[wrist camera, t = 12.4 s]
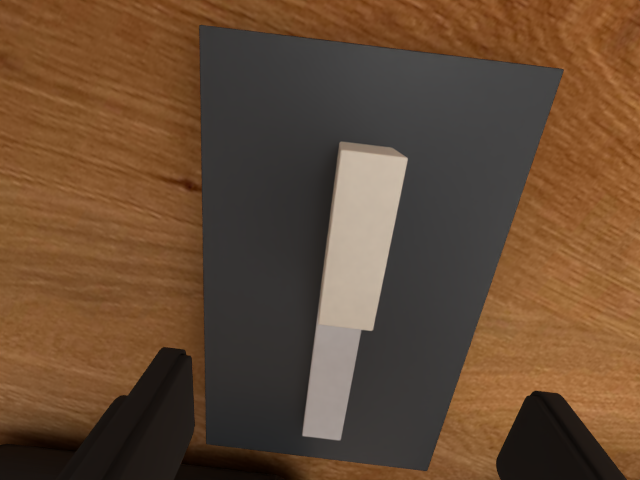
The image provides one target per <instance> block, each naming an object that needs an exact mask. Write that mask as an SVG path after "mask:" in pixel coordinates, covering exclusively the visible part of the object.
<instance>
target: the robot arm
mask: <svg viewBox="0 0 640 480" xmlns="http://www.w3.org/2000/svg"><path fill="white" fill-rule="evenodd" d="M194 426H195V418H194V397H193V375H192V358H191V356H187V355H186V351H185V350H183V349H175V348H166V347H163V348H161V350H160V351H159V352H158V354H157V355H156V356H155V358H154V359H153V361H152V362H151V364H150V365H149V366H148V368H147V369H146V371H145V372H144V373H143V375H142V376H141V378H140V379H139V381H138V382H137V383H136V385H135V386H134V388H133V389H132V391H131V392H130V393H129V395H128V396H126V395H122V396H119V397H118V398H116V399H115V400H114V401H113V403H112V404H111V405H110V406H109V408H108V409H107V410H106V412H105V413H104V414H103V416H102V417H101V418H100V420H99V421H98V423H97V424H96V425H95V427H94V428H93V429H92V431H91V432H90V433H89V435H88V436H87V437H86V439H85V440H84V442H83V443H82V444H81V446H80V447H79V448H78V450H77V451H76V452H75V454H74V455H73V456H72V458H71V459H70V461H69V462H68V463H67V465H66V466H65V467H64V469H63V470H62V471H61V473H60V474H59V475H58V477H57V478H56V479H55V480H174V478H175V476H176V473H177V471H178V469H179V466H180V464H181V462H182V459H183V457H184V455H185V452H186V450H187V448H188V445H189V443H190V440H191V438H192V435H193V431H194ZM496 467H497V472H498V475H499V477H500V479H501V480H627V479H626V478H625V477H624V475H623V474H622V473H621V471H620V470H619V469H618V468H617V466H616V465H615V464H614V462H613V461H612V460H611V459H610V457H609V456H608V455H607V453H606V452H605V451H604V450H603V448H602V447H601V446H600V444H599V443H598V442H597V440H596V439H595V438H594V437H593V435H592V434H591V433H590V431H589V430H588V429H587V428H586V426H585V425H584V424H583V422H582V421H581V420H580V418H579V417H578V416H577V415H576V413H575V412H574V411H573V409H572V408H571V407H570V406H569V404H568V403H567V402H566V400H565V399H564V398H563V397H562V396H561V395H560V394H558V393H551V392H542V391H534V392H532V394H531V395H530V396H527V397H526V398H525V400H524V402H523V404H522V406H521V409H520V411H519V413H518V415H517V417H516V419H515V421H514V423H513V425H512V428H511V430H510V432H509V434H508V436H507V438H506V440H505V442H504V444H503V447H502V449H501V451H500V453H499V455H498V457H497V460H496Z"/></svg>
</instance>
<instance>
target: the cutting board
mask: <svg viewBox="0 0 640 480" xmlns="http://www.w3.org/2000/svg"><path fill="white" fill-rule="evenodd" d="M199 34H200V95H201V156H202V217H203V278H204V339H205V400H206V444H209V445H218V446H226V447H234V448H242V449H250V450H258V451H266V452H275V453H283V454H291V455H299V456H307V457H315V458H324V459H332V460H340V461H348V462H356V463H364V464H373V465H381V466H389V467H397V468H405V469H413V470H422V471H427V470H428V467H429V464H430V461H431V458H432V455H433V452H434V449H435V446H436V443H437V440H438V437H439V435H440V432H441V429H442V426H443V423H444V420H445V417H446V414H447V411H448V408H449V405H450V402H451V399H452V396H453V393H454V391H455V388H456V385H457V382H458V379H459V376H460V373H461V370H462V367H463V364H464V361H465V358H466V355H467V352H468V350H469V347H470V344H471V341H472V338H473V335H474V332H475V329H476V326H477V323H478V320H479V317H480V314H481V311H482V308H483V306H484V303H485V300H486V297H487V294H488V291H489V288H490V285H491V282H492V279H493V276H494V273H495V270H496V267H497V264H498V262H499V259H500V256H501V253H502V250H503V247H504V244H505V241H506V238H507V235H508V232H509V229H510V226H511V223H512V221H513V218H514V215H515V212H516V209H517V206H518V203H519V200H520V197H521V194H522V191H523V188H524V185H525V182H526V179H527V177H528V174H529V171H530V168H531V165H532V162H533V159H534V156H535V153H536V150H537V147H538V144H539V141H540V138H541V135H542V133H543V130H544V127H545V124H546V121H547V118H548V115H549V112H550V109H551V106H552V103H553V100H554V97H555V94H556V92H557V89H558V86H559V83H560V80H561V77H562V74H563V71H564V70H563V69H559V68H551V67H543V66H535V65H526V64H518V63H510V62H502V61H494V60H485V59H477V58H469V57H461V56H452V55H444V54H436V53H428V52H420V51H411V50H403V49H395V48H387V47H378V46H370V45H362V44H354V43H346V42H337V41H329V40H321V39H313V38H304V37H296V36H288V35H280V34H272V33H263V32H255V31H247V30H239V29H230V28H222V27H214V26H206V25H200V26H199ZM340 142H349V143H358V144H366V145H374V146H383V147H391V148H393V149H395V150H396V151H398V152H399V153H401V154H402V155H404V156H405V157H407V158H408V161H407V166H406V171H405V176H404V180H403V185H402V190H401V195H400V200H399V205H398V210H397V215H396V220H395V225H394V229H393V234H392V239H391V244H390V249H389V254H388V259H387V264H386V269H385V273H384V278H383V283H382V288H381V293H380V298H379V303H378V308H377V313H376V317H375V322H374V327H373V330H372V331H368V330H361V335H360V340H359V346H358V351H357V356H356V361H355V367H354V372H353V377H352V383H351V388H350V393H349V398H348V404H347V409H346V414H345V420H344V425H343V430H342V435H341V440H332V439H324V438H315V437H307V436H302V431H303V422H304V414H305V407H306V399H307V391H308V383H309V376H310V368H311V360H312V352H313V344H314V337H315V329H316V321H317V313H318V305H319V298H320V290H321V282H322V274H323V267H324V259H325V251H326V243H327V235H328V228H329V220H330V212H331V204H332V196H333V189H334V181H335V173H336V165H337V157H338V150H339V143H340Z"/></svg>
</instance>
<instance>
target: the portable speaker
mask: <svg viewBox="0 0 640 480" xmlns="http://www.w3.org/2000/svg"><path fill="white" fill-rule="evenodd" d="M74 454H75V452H74V451H65V450H56V449H48V448H39V447H31V446H22V445H14V444H3V445H0V480H55V479H56V478H57V477H58V475H59V474H60V473H61V471H62V470H63V469H64V467H65V466H66V465H67V463H68V462H69V461H70V459H71V458H72V456H73V455H74ZM174 480H285V479H283V478H281V477H280V476H278V475H271V474H262V473H253V472H245V471H236V470H228V469H219V468H211V467H202V466H193V465H185V464H180V466H179V469H178V471H177V473H176V476H175V478H174Z"/></svg>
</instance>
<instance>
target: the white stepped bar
mask: <svg viewBox="0 0 640 480" xmlns="http://www.w3.org/2000/svg"><path fill="white" fill-rule="evenodd" d="M407 161H408V158H407V157H405V156H404V155H402V154H401V153H399V152H398V151H396V150H395V149H393V148H391V147H383V146H374V145H366V144H358V143H349V142H340V143H339V150H338V157H337V165H336V173H335V181H334V189H333V196H332V204H331V212H330V220H329V228H328V235H327V243H326V251H325V259H324V267H323V274H322V282H321V290H320V298H319V305H318V313H317V321H316V329H315V337H314V344H313V352H312V360H311V368H310V376H309V383H308V391H307V399H306V407H305V414H304V422H303V431H302V436H307V437H315V438H324V439H332V440H341V435H342V430H343V425H344V420H345V414H346V409H347V404H348V398H349V393H350V388H351V383H352V377H353V372H354V367H355V361H356V356H357V351H358V346H359V340H360V335H361V330H368V331H372V330H373V327H374V322H375V317H376V313H377V308H378V303H379V298H380V293H381V288H382V283H383V278H384V273H385V269H386V264H387V259H388V254H389V249H390V244H391V239H392V234H393V229H394V225H395V220H396V215H397V210H398V205H399V200H400V195H401V190H402V185H403V180H404V176H405V171H406V166H407Z"/></svg>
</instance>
